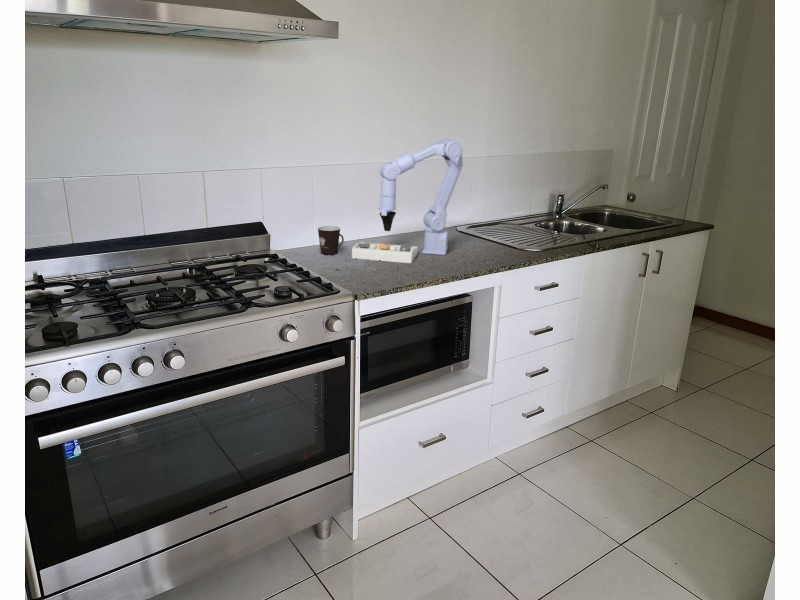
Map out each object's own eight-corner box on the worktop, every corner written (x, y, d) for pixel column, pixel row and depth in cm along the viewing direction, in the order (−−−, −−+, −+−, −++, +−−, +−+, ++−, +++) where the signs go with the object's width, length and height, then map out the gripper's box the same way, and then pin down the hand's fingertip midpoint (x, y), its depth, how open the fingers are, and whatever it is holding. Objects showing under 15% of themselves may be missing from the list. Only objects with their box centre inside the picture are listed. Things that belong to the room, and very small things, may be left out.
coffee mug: (315, 251, 227) (315, 226, 223) (336, 249, 230) (336, 225, 227) (323, 259, 217) (323, 233, 213) (345, 257, 220) (345, 231, 217)
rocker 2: (410, 247, 221) (410, 243, 220) (407, 254, 216) (407, 250, 215) (402, 247, 222) (402, 243, 221) (399, 254, 217) (398, 250, 216)
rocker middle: (389, 249, 223) (389, 245, 222) (386, 250, 217) (386, 245, 217) (381, 248, 223) (381, 244, 223) (378, 249, 217) (378, 245, 217)
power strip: (417, 253, 228) (417, 244, 227) (411, 263, 215) (411, 252, 214) (361, 249, 232) (361, 239, 231) (351, 258, 219) (351, 248, 218)
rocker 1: (369, 248, 224) (369, 243, 224) (365, 248, 218) (366, 244, 218) (361, 247, 224) (361, 243, 224) (357, 247, 219) (357, 243, 218)
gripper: (382, 192, 226) (381, 226, 231) (373, 197, 213) (373, 233, 217) (399, 193, 225) (398, 227, 229) (392, 199, 211) (391, 235, 216)
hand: (387, 230), depth 223 cm, fingers closed
